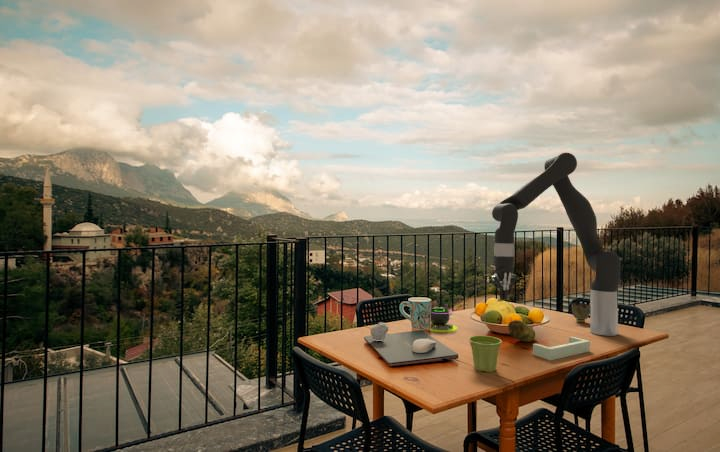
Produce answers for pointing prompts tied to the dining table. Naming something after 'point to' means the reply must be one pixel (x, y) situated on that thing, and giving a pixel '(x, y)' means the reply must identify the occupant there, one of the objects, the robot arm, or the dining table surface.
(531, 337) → the olive green oval lump
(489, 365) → the plant pot
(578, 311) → the cup
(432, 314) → the toy cauldron
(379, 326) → the grey rough lump
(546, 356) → the corral
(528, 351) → the dining table surface
